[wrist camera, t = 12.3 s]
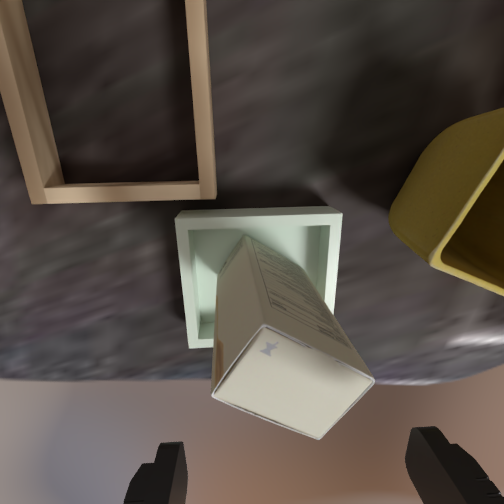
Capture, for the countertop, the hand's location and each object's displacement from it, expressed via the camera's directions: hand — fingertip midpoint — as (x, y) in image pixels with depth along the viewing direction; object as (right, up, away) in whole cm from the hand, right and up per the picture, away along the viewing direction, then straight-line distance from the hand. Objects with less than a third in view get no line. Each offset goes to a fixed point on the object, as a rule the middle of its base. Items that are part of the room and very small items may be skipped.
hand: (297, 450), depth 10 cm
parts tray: (-1, +5, +14) cm, 15 cm away
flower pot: (+13, +12, +13) cm, 22 cm away
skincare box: (-1, +5, +14) cm, 15 cm away
